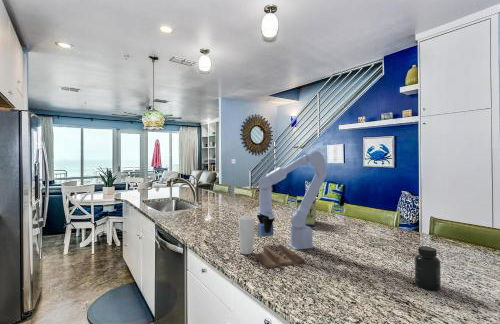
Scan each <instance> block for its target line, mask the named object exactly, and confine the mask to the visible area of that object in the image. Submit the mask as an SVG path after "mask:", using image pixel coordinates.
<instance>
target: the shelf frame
mask: <svg viewBox="0 0 500 324" xmlns="http://www.w3.org/2000/svg"><path fill="white" fill-rule="evenodd" d="M262 248H263V252H261V253H254V257H255V258H256V259H257V261H258V262H259V263H261V264H262V266H263V267H265V268H266V269H268V268H275V267H281V266H287V265H289V266H291V265H297V264H302V263H303V264H305V262H306V260H305V259H304V258H303V257H301V256H300V255H299V254H297V253H296V252H294V251H293V250H291V249H289V248H287V247H286V246H284V245H283V244H278V250H277V251H276V250H275V251H273V250H272V249H270V247H268V246H263V247H262Z"/></svg>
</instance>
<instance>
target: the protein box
mask: <svg viewBox="0 0 500 324" xmlns="http://www.w3.org/2000/svg"><path fill="white" fill-rule="evenodd" d="M303 198H304V196H301V195H300V196H299V197H298V198H297V199H296V210H297V209H298V207H299V206H300V204H301V202H302V200H303ZM316 215H317V196H316V197H315V199H314V201H313V203H312V205H311V207H310V209H309V212H308V214H307V217H306V223H305V224H306V225H307V226H309V227H310V228H315V226H316V223H317V219H316V218H317V217H316Z"/></svg>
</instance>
